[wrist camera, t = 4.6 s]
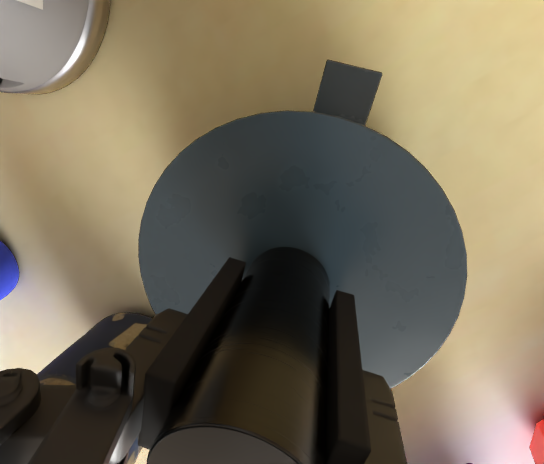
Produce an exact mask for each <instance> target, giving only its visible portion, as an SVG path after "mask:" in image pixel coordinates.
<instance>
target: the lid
mask: <svg viewBox="0 0 544 464" xmlns="http://www.w3.org/2000/svg"><path fill="white" fill-rule="evenodd" d="M229 257H231V258H234V259H237V260H241V261H244V262H246V265H245V269H244V273H243V278H242V282H241V284H240V286H239V287H238V289H237V291H236V293H235V295H234V297H233V298H232V300H231V302H230V304H229V306H228V308H227V309H226V311H225V313H224V315H223V317H222V319H221V320H220V322H219V324H218V326H217V328H216V329H215V331H214V333H213V335H212V337H211V339H210V340H209V342H208V344H207V346H206V348H205V350H204V351H203V353H202V355H201V357H200V359H199V360H198V362H197V364H196V366H195V368H194V370H193V371H192V373H191V375H190V377H189V379H188V381H187V382H186V384H185V386H184V388H183V390H182V392H181V393H180V395H179V397H178V399H177V401H176V402H175V404H174V406H173V408H172V410H171V412H170V413H169V415H168V417H167V419H166V421H165V423H164V424H163V426H162V428H161V430H160V432H159V433H158V435H157V437H156V439H155V441H154V443H153V444H152V446H151V449H150V451H149V454H148V458H147V464H326V429H327V387H328V344H329V308H330V306H331V303H332V300H333V298H334V295H335V292H336V290H339V291H342V292H346V293H349V294H352V295H354V298H355V307H356V316H357V325H358V334H359V343H360V353H361V362H362V370H365V371H368V372H371V373H374V374H377V375H380V376H383V377H384V379H385V380H386V382H387V384H388V385H389V387H390V389H391V388H393V387H395V386H397V385H398V384H400V383H401V382H403V381H405V380H406V379H408V378H409V377H411V376H412V375H413V374H415V373H416V372H417V371H418V370H419V369H421V368H422V367H423V366H424V365H425V364H426V363H427V362H428V361H429V360H430V359H431V358H432V357H433V356H434V355H435V354H436V353H437V351H438V350H439V349H440V348H441V346H442V345H443V343H444V342H445V340H446V339H447V337H448V336H449V334H450V332H451V330H452V328H453V326H454V324H455V322H456V320H457V318H458V316H459V312H460V309H461V306H462V303H463V299H464V295H465V287H466V280H467V254H466V249H465V243H464V238H463V233H462V230H461V227H460V224H459V222H458V219H457V216H456V213H455V211H454V209H453V207H452V205H451V203H450V202H449V200H448V198H447V196H446V194H445V193H444V191H443V189H442V188H441V186H440V185H439V184H438V183H437V181H436V180H435V179H434V178H433V176H432V175H431V174H430V172H429V171H428V170H427V169H426V168H425V167H424V166H423V165H422V164H421V163H420V162H419V161H418V160H417V159H416V158H414V157H413V156H412V155H411V154H410V153H409V152H408V151H407V150H405V149H404V148H402V147H401V146H399V145H398V144H397V143H395V142H394V141H392V140H391V139H389V138H388V137H386V136H384V135H382V134H380V133H378V132H376V131H374V130H372V129H370V128H368V127H366V126H364V125H362V124H359V123H356V122H353V121H350V120H347V119H344V118H341V117H338V116H333V115H328V114H322V113H317V112H308V111H277V112H267V113H260V114H255V115H251V116H247V117H243V118H239V119H236V120H234V121H231V122H229V123H226V124H224V125H221V126H219V127H217V128H215V129H213V130H211V131H210V132H208V133H206V134H205V135H203V136H201V137H199V138H198V139H196V140H195V141H194V142H193V143H191V144H190V145H189V146H188V147H186V148H185V149H184V150H183V151H182V152H180V153H179V154H178V155H177V157H176V158H175V159H174V160H173V161H172V162H171V163H170V164H169V165H168V166H167V168H166V169H165V170H164V172H163V173H162V175H161V176H160V178H159V179H158V181H157V182H156V184H155V186H154V188H153V190H152V192H151V194H150V196H149V199H148V201H147V203H146V207H145V210H144V213H143V217H142V220H141V226H140V233H139V264H140V272H141V277H142V281H143V284H144V288H145V292H146V294H147V297H148V299H149V302H150V304H151V307H152V309H153V311H154V313H155V315H157V314H158V313H160V312H162V311H164V310H166V309H168V308H170V309H173V310H176V311H179V312H183V313H186V314H188V313H189V312H190V311H191V309H192V308H193V307H194V305H195V304H196V302H197V301H198V300H199V298H200V297H201V296H202V294H203V293H204V291H205V290H206V289H207V287H208V286H209V285H210V283H211V282H212V280H213V279H214V278H215V276H216V275H217V274H218V272H219V271H220V269H221V268H222V267H223V265H224V264H225V263H226V261H227V260H228V258H229Z"/></svg>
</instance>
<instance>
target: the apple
mask: <svg viewBox="0 0 544 464" xmlns="http://www.w3.org/2000/svg"><path fill="white" fill-rule="evenodd" d="M530 450H531V453H532V456H533V459H534V462H535V464H544V419H543V420H541V421H539V422H538V423H536V427H535V430H534V433H533V437H532V440H531V444H530Z"/></svg>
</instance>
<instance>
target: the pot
mask: <svg viewBox="0 0 544 464" xmlns="http://www.w3.org/2000/svg"><path fill="white" fill-rule="evenodd" d="M381 77H382V73H381V72H377V71H373V70H369V69H365V68H361V67H357V66H353V65H349V64H344V63H340V62H336V61H332V60H327V61H326V65H325V69H324V72H323V76H322V80H321V84H320V87H319V91H318V95H317V98H316V102H315V106H314V110H313V112H317V113H322V114H328V115H333V116H338V117H341V118H344V119H347V120H350V121H353V122H356V123H359V124H362V125H364V126H365V125H366V122H367V119H368V116H369V113H370V110H371V107H372V104H373V101H374V98H375V95H376V92H377V89H378V86H379V83H380V80H381Z"/></svg>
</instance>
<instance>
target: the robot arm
mask: <svg viewBox="0 0 544 464" xmlns="http://www.w3.org/2000/svg"><path fill="white" fill-rule="evenodd" d="M110 1H111V0H0V92H6V93H19V94H45V93H50V92H54V91H57V90H59V89H62V88H64V87H65V86H67V85H69V84H71V83H72V82H73V81H75V80H76V79H77V78H78V77H79V76H80V75H81V74H82V73H83V72H84V71H85V70H86V69H87V67H88V66H89V65H90V64H91V62H92V60H93V59H94V57H95V55H96V54H97V51H98V49H99V47H100V45H101V42H102V40H103V37H104V34H105V30H106V26H107V23H108V17H109V11H110ZM245 265H246V262H244V261H241V260H237V259H234V258H231V257H229V258H228V260H227V261H226V263H225V264H224V265H223V267H222V268H221V269H220V271H219V272H218V274H217V275H216V276H215V278H214V279H213V280H212V282H211V283H210V285H209V286H208V287H207V289H206V290H205V291H204V293H203V294H202V296H201V297H200V298H199V300H198V301H197V302H196V304H195V305H194V307H193V308H192V309H191V311H190V312H189V313H188V314H186V313H183V312H179V311H176V310H173V309H170V308H168V309H166V310H164V311H162V312H160V313H158V314H157V315H155V316H154V317H153V318H152V320H151V321H150V322H149V323H148V324H147V326H146V327H145V328H144V329H143V330H142V331H141V332H140V333H139V335H138V336H137V337H136V338H135V339H134V340H133V341H132V342H131V343H130V344H129V346H128V347H127V348H126V349H125V350H123V349H120V348H107V347H106V348H102V349H98V350H94V351H93V352H91V353H89V354H87V355H85V356H83V357H82V358H81V359H80V360H79V361H78V362H77V363H76V385H40V381H39V378H38V375H37V374H35V373H34V372H33V371H31V370H27V369H22V368H16V369H7V370H3V371H0V464H127V459H128V453H129V449H130V448H131V446H132V444H133V443H134V441H135V439H136V438H137V436H138V435H139V438H138V446H141V447H144V448H147V449H149V450H150V449H151V446H152V444H153V443H154V441H155V439H156V437H157V435H158V433H159V432H160V430H161V428H162V426H163V424H164V423H165V421H166V419H167V417H168V415H169V413H170V412H171V410H172V408H173V406H174V404H175V402H176V401H177V399H178V397H179V395H180V393H181V392H182V390H183V388H184V386H185V384H186V382H187V381H188V379H189V377H190V375H191V373H192V371H193V370H194V368H195V366H196V364H197V362H198V360H199V359H200V357H201V355H202V353H203V351H204V350H205V348H206V346H207V344H208V342H209V340H210V339H211V337H212V335H213V333H214V331H215V329H216V328H217V326H218V324H219V322H220V320H221V319H222V317H223V315H224V313H225V311H226V309H227V308H228V306H229V304H230V302H231V300H232V298H233V297H234V295H235V293H236V291H237V289H238V287H239V286H240V284H241V282H242V278H243V273H244V269H245ZM397 420H398V418H397V413H396V409H395V403H394V398H393V394H392V390H391V389H390V387H389V385H388V384H387V382H386V380H385V379H384V377H383V376H380V375H377V374H374V373H371V372H368V371H365V370H362V362H361V353H360V343H359V334H358V325H357V316H356V307H355V298H354V295H352V294H349V293H346V292H342V291H339V290H336V292H335V295H334V298H333V300H332V303H331V306H330V308H329V344H328V387H327V429H326V464H407V461H406V456H405V451H404V446H403V442H402V437H401V432H400V427H399V422H397Z"/></svg>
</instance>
